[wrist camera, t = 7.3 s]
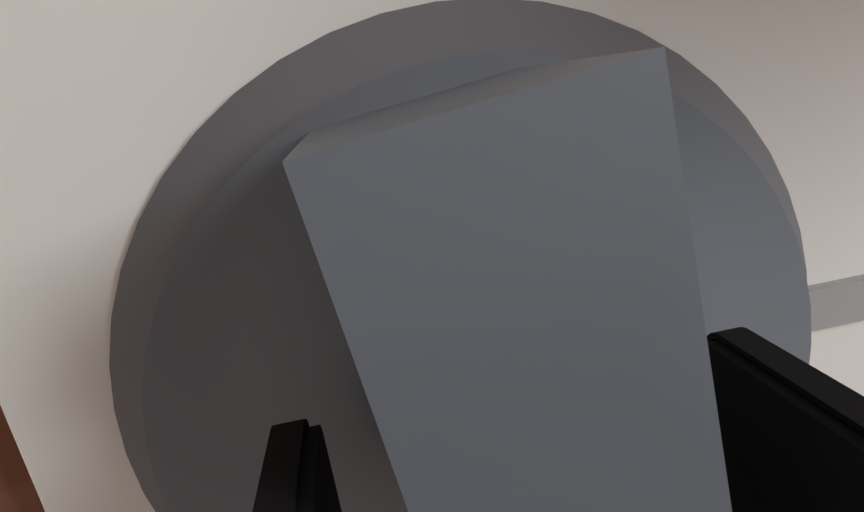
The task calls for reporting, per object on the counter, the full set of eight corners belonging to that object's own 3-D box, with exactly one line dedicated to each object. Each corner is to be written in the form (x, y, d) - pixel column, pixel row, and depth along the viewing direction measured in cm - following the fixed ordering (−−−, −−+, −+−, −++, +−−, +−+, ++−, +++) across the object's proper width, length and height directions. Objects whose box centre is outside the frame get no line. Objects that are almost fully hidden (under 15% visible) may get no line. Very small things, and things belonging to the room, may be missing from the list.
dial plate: (183, 707, 16) (157, 803, 14) (-97, -25, 11) (-209, -55, 9) (799, 550, 18) (862, 613, 16) (831, -143, 13) (934, -192, 10)
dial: (38, 176, 10) (-397, 294, 4) (734, -29, 11) (1203, -176, 5) (296, 696, 14) (261, 1134, 8) (792, 517, 15) (1091, 799, 9)
